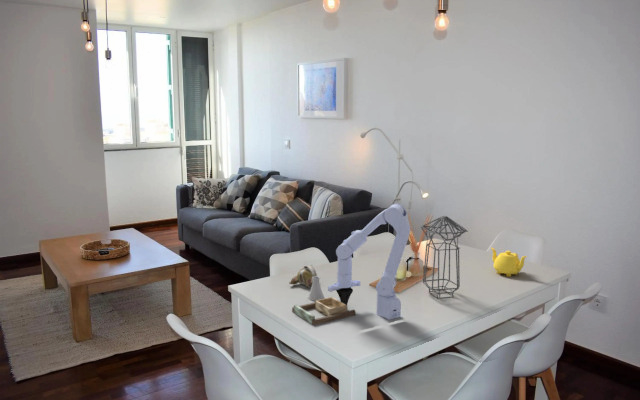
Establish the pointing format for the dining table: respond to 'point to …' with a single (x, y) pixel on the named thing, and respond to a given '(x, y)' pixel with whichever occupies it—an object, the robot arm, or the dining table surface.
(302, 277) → the ceramic sculpture
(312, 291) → the flask
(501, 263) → the teapot
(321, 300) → the light wooden drawer
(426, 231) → the geometric lantern
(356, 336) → the dining table surface
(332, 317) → the bay
